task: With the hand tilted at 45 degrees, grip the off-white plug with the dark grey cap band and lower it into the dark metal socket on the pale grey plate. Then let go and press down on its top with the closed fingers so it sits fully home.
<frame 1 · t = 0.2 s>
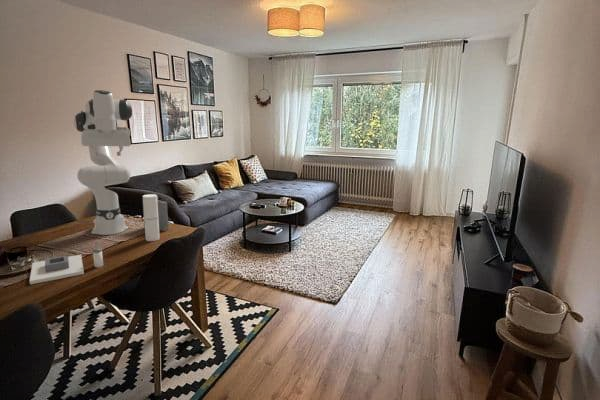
hand: (107, 155, 156), 48 cm above the table, tool pointing down, fingers open, 8 cm apart
plug: (99, 265, 147), on the table
cylindrical container: (152, 239, 182), on the table
hip flask: (156, 229, 199), on the table
socket block: (58, 269, 142), on the table
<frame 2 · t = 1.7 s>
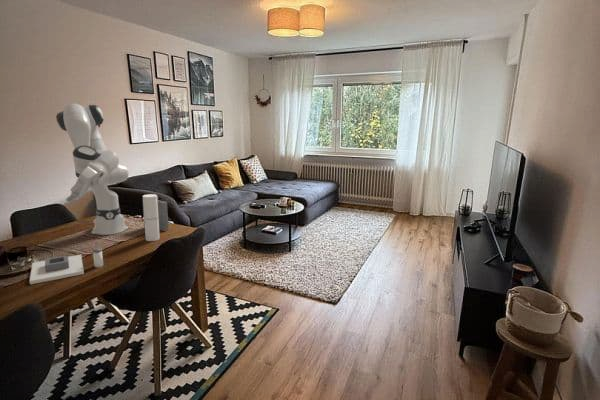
hand: (70, 196, 138), 33 cm above the table, tool tilted 60°, fingers open, 8 cm apart
nothing on the table moved.
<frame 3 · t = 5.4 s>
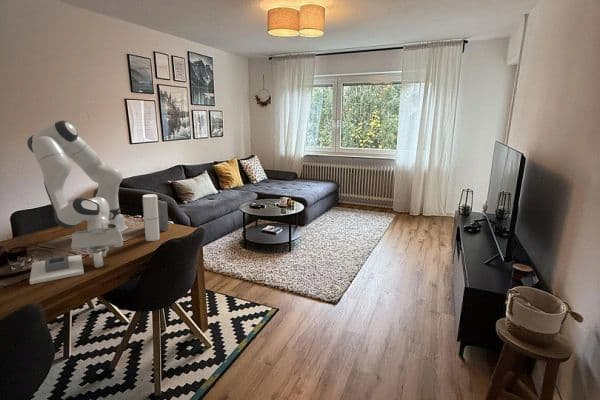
hand: (97, 256, 146), 5 cm above the table, tool tilted 45°, fingers closed on plug, 3 cm apart
plug: (98, 265, 147), on the table, touching gripper
everything else where it was.
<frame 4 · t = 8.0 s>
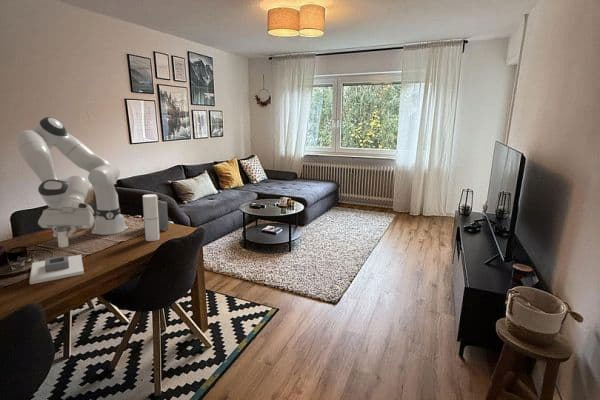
hand: (61, 236, 138), 16 cm above the table, tool tilted 45°, fingers closed on plug, 3 cm apart
plug: (63, 246, 140), point 11 cm above the table, touching gripper
everything else where it was.
when the fingers open (7 cm above the table, at t = 10.8 s): plug stays where it is, resting on socket block.
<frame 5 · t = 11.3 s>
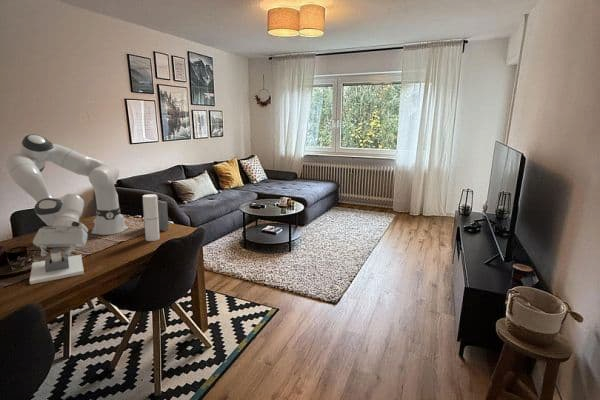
hand: (55, 255, 140), 7 cm above the table, tool tilted 45°, fingers open, 8 cm apart
plug: (57, 266, 141), point 1 cm above the table, touching socket block
everything else where it was.
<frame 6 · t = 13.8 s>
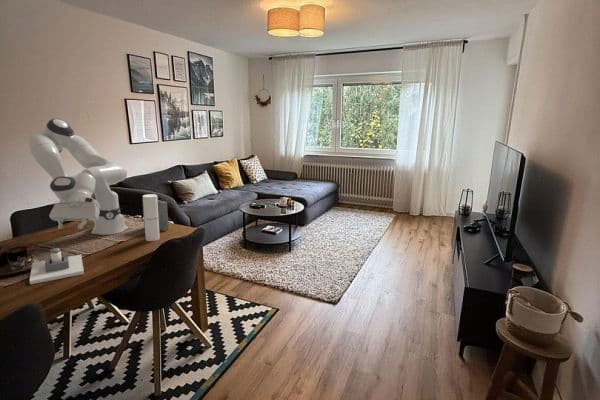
hand: (70, 228, 150), 15 cm above the table, tool tilted 45°, fingers open, 7 cm apart
nothing on the table moved.
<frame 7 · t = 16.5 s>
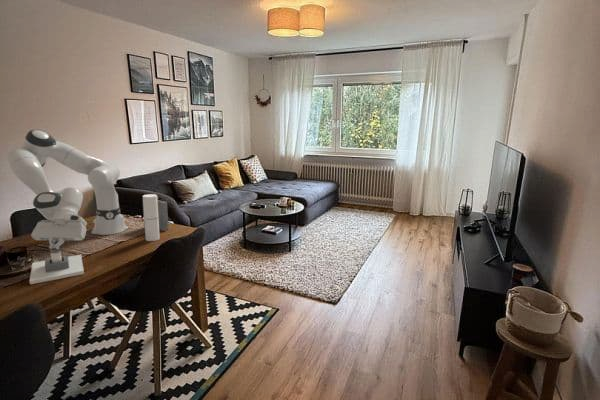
hand: (53, 248, 139), 10 cm above the table, tool tilted 45°, fingers closed, pressing on plug
plug: (57, 266, 141), point 1 cm above the table, touching gripper, socket block
everything else where it was.
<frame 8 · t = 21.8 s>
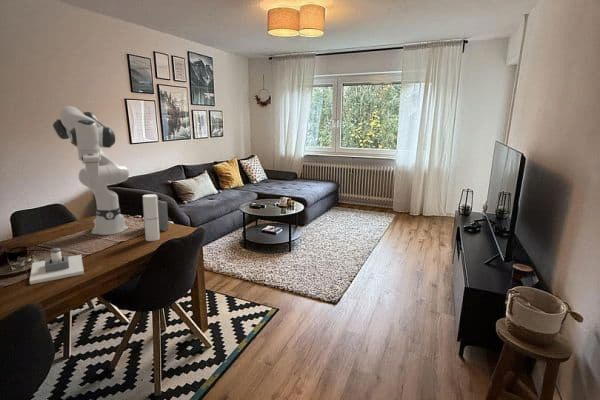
hand: (93, 185, 154), 34 cm above the table, tool pointing down, fingers closed
plug: (57, 266, 141), point 2 cm above the table, touching socket block
everything else where it was.
at the end: plug 0.1 cm off-centre on the socket block, point 1.5 cm above the socket block's base; plug tilted 2°; the gripper is holding nothing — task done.
